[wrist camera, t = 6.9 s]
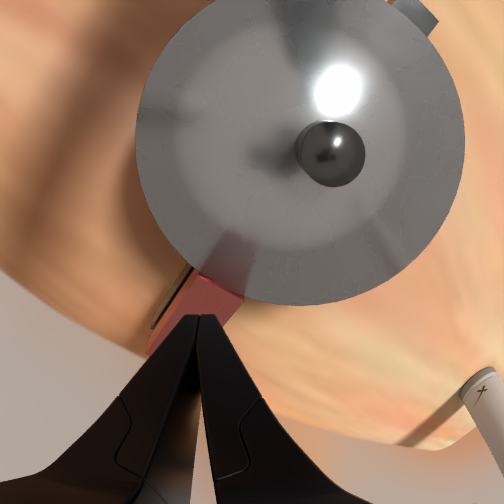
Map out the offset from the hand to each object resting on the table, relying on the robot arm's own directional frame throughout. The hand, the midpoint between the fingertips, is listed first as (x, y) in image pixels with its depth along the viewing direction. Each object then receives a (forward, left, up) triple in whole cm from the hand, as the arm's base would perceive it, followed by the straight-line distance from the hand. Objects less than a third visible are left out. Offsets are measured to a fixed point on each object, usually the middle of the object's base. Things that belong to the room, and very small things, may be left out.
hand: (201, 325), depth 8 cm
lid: (-3, +2, -6) cm, 7 cm away
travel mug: (+1, +42, -12) cm, 43 cm away
